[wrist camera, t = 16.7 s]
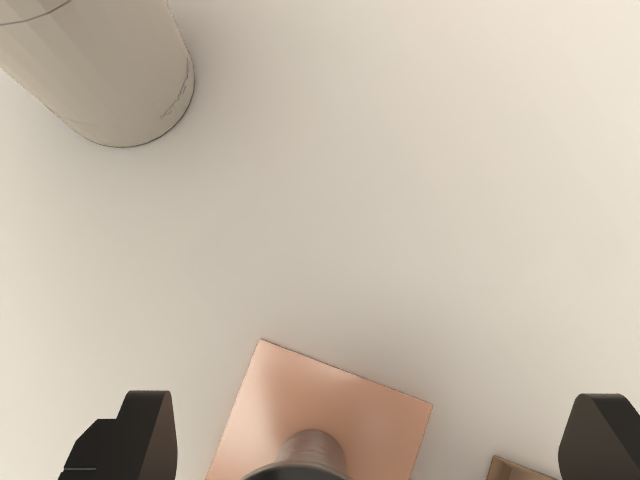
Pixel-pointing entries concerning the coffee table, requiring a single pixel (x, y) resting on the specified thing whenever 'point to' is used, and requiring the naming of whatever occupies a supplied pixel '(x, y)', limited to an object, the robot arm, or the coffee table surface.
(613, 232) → the coffee table surface
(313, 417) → the pad
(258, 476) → the peg
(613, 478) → the robot arm
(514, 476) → the collar
